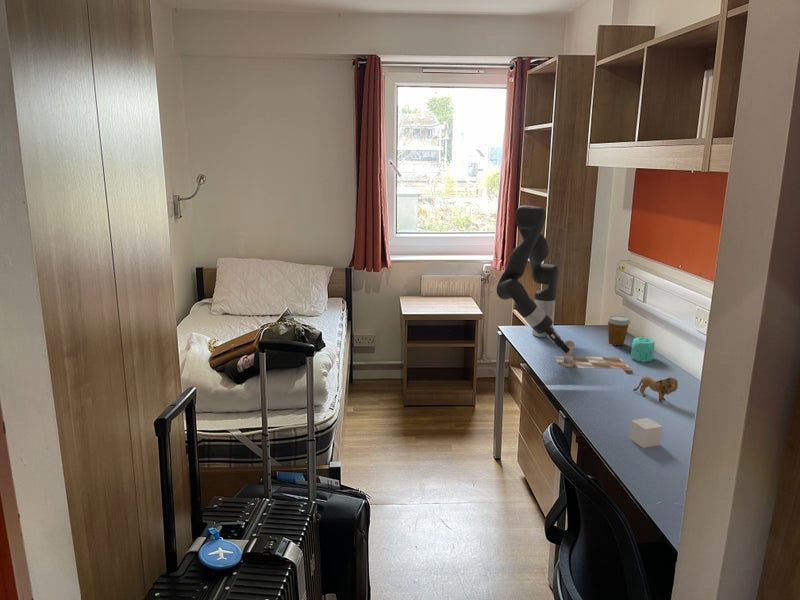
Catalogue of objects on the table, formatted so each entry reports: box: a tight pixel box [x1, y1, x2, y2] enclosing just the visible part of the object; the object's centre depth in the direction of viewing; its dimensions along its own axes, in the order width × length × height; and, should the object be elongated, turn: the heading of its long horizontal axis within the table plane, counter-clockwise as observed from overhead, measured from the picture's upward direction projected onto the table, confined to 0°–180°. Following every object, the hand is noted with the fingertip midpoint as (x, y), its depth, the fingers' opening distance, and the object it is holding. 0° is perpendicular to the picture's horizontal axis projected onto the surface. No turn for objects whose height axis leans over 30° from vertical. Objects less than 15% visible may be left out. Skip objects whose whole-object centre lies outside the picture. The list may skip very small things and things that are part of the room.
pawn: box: [562, 339, 575, 367], centre depth 229 cm, size 5×5×10 cm
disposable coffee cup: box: [606, 314, 631, 347], centre depth 259 cm, size 10×10×12 cm
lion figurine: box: [632, 376, 679, 404], centre depth 203 cm, size 15×5×9 cm, turn 46°
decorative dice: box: [630, 337, 655, 363], centre depth 241 cm, size 8×8×8 cm
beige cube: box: [629, 417, 663, 449], centre depth 172 cm, size 6×6×6 cm
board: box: [553, 355, 633, 374], centre depth 233 cm, size 15×28×1 cm, turn 89°
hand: (565, 347), depth 229 cm, fingers open, 8 cm apart
